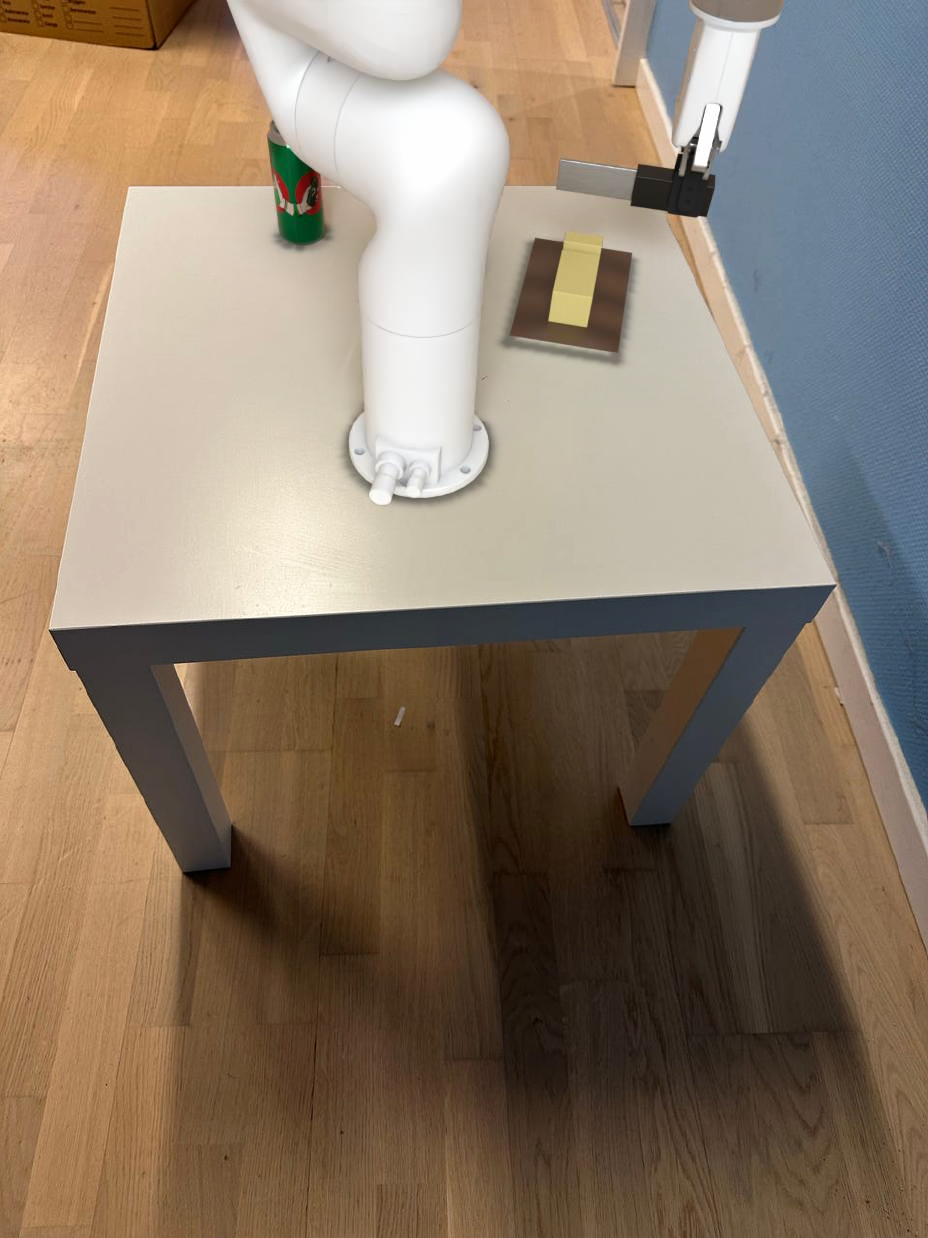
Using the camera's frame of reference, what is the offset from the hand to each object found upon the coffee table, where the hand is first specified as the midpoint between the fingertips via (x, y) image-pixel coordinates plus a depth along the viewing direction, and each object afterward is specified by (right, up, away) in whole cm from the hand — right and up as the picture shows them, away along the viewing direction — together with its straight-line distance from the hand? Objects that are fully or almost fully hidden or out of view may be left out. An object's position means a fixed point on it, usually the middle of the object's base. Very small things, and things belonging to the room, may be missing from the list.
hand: (683, 203), depth 88 cm
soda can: (-40, +2, +12) cm, 42 cm away
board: (-10, -7, +8) cm, 14 cm away
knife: (-5, +1, +1) cm, 5 cm away
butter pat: (-9, -3, +9) cm, 13 cm away
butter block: (-10, -8, +6) cm, 14 cm away
